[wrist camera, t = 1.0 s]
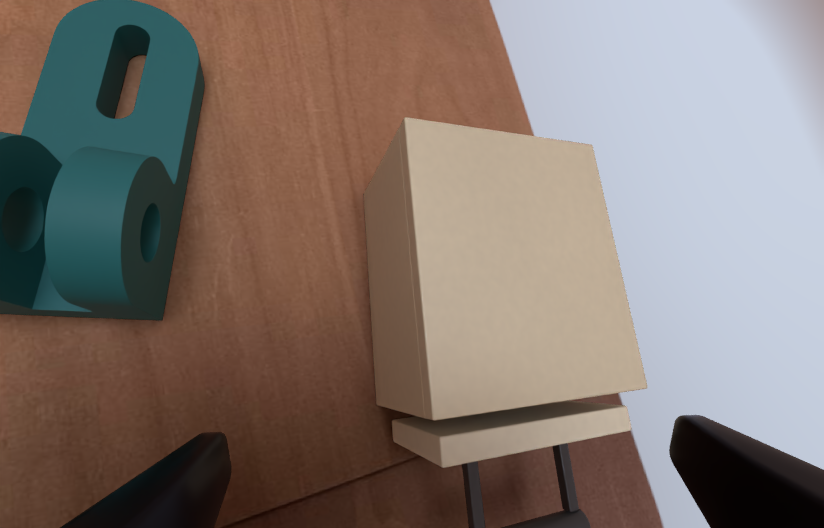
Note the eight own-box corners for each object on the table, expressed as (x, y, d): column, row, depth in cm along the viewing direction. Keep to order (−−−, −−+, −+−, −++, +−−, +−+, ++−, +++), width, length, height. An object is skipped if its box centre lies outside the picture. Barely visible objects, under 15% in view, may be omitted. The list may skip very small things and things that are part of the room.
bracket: (162, 320, 20) (105, 291, 13) (-2, 313, 18) (-174, 275, 11) (211, 48, 25) (189, -78, 18) (87, 17, 23) (8, -140, 16)
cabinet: (537, 384, 27) (648, 388, 19) (376, 405, 23) (433, 421, 15) (508, 204, 31) (592, 144, 23) (363, 193, 26) (404, 116, 19)
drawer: (558, 503, 24) (658, 548, 18) (400, 546, 21) (457, 620, 14) (515, 238, 29) (583, 200, 23) (378, 233, 25) (414, 186, 19)
